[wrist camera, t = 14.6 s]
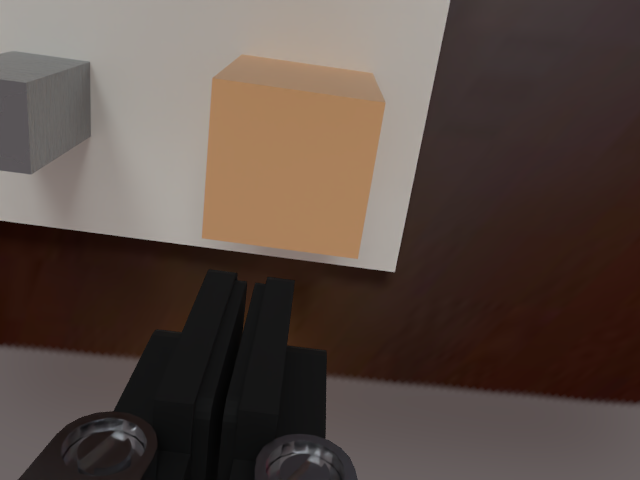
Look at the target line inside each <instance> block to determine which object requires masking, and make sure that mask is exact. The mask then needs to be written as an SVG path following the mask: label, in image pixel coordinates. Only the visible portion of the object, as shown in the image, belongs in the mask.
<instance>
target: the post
mask: <svg viewBox="0 0 640 480" xmlns="http://www.w3.org/2000/svg"><path fill="white" fill-rule="evenodd" d="M89 137H91V99H90V62H88V61H81V60H74V59H67V58H60V57H53V56H46V55H39V54H31V53H24V52H17V51H11V52H6V53H1V54H0V171H8V172H15V173H23V174H30V175H31V174H33V173H34V172H36V171H38V170H39V169H41V168H42V167H44V166H45V165H47V164H49V163H50V162H52V161H53V160H55V159H56V158H58V157H59V156H61V155H63V154H64V153H66V152H67V151H69V150H70V149H72V148H73V147H75V146H77V145H78V144H80V143H81V142H83V141H84V140H86V139H88V138H89Z"/></svg>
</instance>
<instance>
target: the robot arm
mask: <svg viewBox="0 0 640 480" xmlns="http://www.w3.org/2000/svg"><path fill="white" fill-rule="evenodd" d="M294 283H295V280H288V279H280V278H272V277H267V281H266V284H262V283H255V286H254V290H253V294H252V298H251V302H250V306H249V310H248V314H247V318H246V322H245V326H244V330H243V322H244V312H245V301H246V291H247V282H246V281H238V280H237V273H233V272H225V271H218V270H210V269H209V270H208V272H207V274H206V277H205V279H204V281H203V284H202V286H201V288H200V291H199V293H198V295H197V298H196V300H195V303H194V305H193V307H192V310H191V312H190V314H189V317H188V319H187V321H186V324H185V326H184V329H183V331H182V332H174V331H166V330H158V329H157V330H155V331H154V333H153V334H152V336H151V338H150V340H149V342H148V344H147V346H146V348H145V350H144V352H143V354H142V356H141V358H140V360H139V362H138V364H137V366H136V368H135V370H134V372H133V374H132V376H131V378H130V380H129V382H128V384H127V386H126V388H125V390H124V392H123V393H122V396H121V397H120V399H119V402H118V404H117V406H116V407H115V410H114V411H112V412H101V413H95V414H91V415H88V416H84V417H81V418H79V419H77V420H75V421H73V422H72V423H70V424H68V425H66V426H65V427H64V428H63V429H62V430H61V431H60V432H59V433H57V434H56V436H55V437H54V438H53V439H52V440H51V442H50V443H49V444H48V445H47V446H46V447H45V449H44V450H43V451H42V452H41V453H40V455H39V456H38V457H37V458H36V459H35V460H34V462H33V463H32V464H31V465H30V466H29V468H28V469H27V470H26V471H25V472H24V474H23V475H22V476H21V477H20V478H19V479H18V480H357V476H356V471H355V468H354V466H353V464H352V461H351V459H350V457H349V456H348V455H347V454H346V453H345V452H344V451H343V450H342V449H341V448H340V447H338V446H337V445H335V444H334V443H332V442H331V441H329V440H326V439H325V432H326V431H325V430H326V364H327V353H326V350H319V349H311V348H303V347H295V346H287V340H288V332H289V324H290V316H291V308H292V300H293V292H294ZM242 332H243V334H242Z"/></svg>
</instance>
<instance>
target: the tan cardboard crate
mask: <svg viewBox="0 0 640 480" xmlns="http://www.w3.org/2000/svg"><path fill="white" fill-rule="evenodd" d="M385 104H386V102H385V100H384V98H383V95H382V93H381V91H380V89H379V86H378V84H377V82H376V79H375V77H374V75H373V73H368V72H361V71H354V70H347V69H340V68H333V67H326V66H320V65H313V64H306V63H299V62H292V61H285V60H278V59H271V58H264V57H257V56H250V55H243V54H242V55H240V56H239V57H238V58H237V59H235V60H234V61H233V62H232V63H230V64H229V65H228V66H227V67H225V68H224V69H223V70H222V71H220V72H219V73H218V74H217V75H215V76H214V77H213V78H212V90H211V105H210V120H209V135H208V150H207V166H206V181H205V196H204V211H203V226H202V238H203V239H211V240H218V241H226V242H233V243H241V244H248V245H256V246H263V247H271V248H278V249H286V250H293V251H301V252H308V253H316V254H323V255H331V256H339V257H346V258H354V259H358V255H359V250H360V244H361V239H362V233H363V227H364V222H365V216H366V210H367V205H368V199H369V194H370V188H371V182H372V177H373V171H374V165H375V160H376V154H377V149H378V143H379V137H380V132H381V126H382V120H383V115H384V109H385Z"/></svg>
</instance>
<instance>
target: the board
mask: <svg viewBox="0 0 640 480" xmlns="http://www.w3.org/2000/svg"><path fill="white" fill-rule="evenodd" d="M449 4H450V0H0V54H1V53H6V52H11V51H17V52H24V53H31V54H39V55H46V56H53V57H60V58H67V59H74V60H81V61H88V62H90V99H91V137H89V138H88V139H86V140H84V141H83V142H81V143H80V144H78V145H77V146H75V147H73V148H72V149H70V150H69V151H67V152H66V153H64V154H63V155H61V156H59V157H58V158H56V159H55V160H53V161H52V162H50V163H49V164H47V165H45V166H44V167H42V168H41V169H39V170H38V171H36V172H34V173H33V174H31V175H30V174H23V173H15V172H8V171H0V221H8V222H15V223H23V224H31V225H38V226H46V227H54V228H61V229H69V230H76V231H84V232H92V233H99V234H107V235H115V236H122V237H130V238H137V239H145V240H153V241H160V242H168V243H176V244H183V245H191V246H198V247H206V248H214V249H221V250H229V251H237V252H244V253H252V254H259V255H267V256H275V257H282V258H290V259H298V260H305V261H313V262H320V263H328V264H336V265H343V266H351V267H359V268H366V269H374V270H381V271H389V272H395V268H396V264H397V259H398V254H399V249H400V244H401V239H402V234H403V229H404V224H405V220H406V215H407V210H408V205H409V200H410V195H411V190H412V185H413V180H414V176H415V171H416V166H417V161H418V156H419V151H420V146H421V141H422V136H423V131H424V127H425V122H426V117H427V112H428V107H429V102H430V97H431V92H432V87H433V83H434V78H435V73H436V68H437V63H438V58H439V53H440V48H441V43H442V39H443V34H444V29H445V24H446V19H447V14H448V9H449ZM242 54H243V55H250V56H257V57H264V58H271V59H278V60H285V61H292V62H299V63H306V64H313V65H320V66H326V67H333V68H340V69H347V70H354V71H361V72H368V73H373V75H374V77H375V79H376V82H377V84H378V86H379V89H380V91H381V93H382V95H383V98H384V100H385V102H386V104H385V109H384V115H383V120H382V126H381V132H380V137H379V143H378V149H377V154H376V160H375V165H374V171H373V177H372V182H371V188H370V194H369V199H368V205H367V210H366V216H365V222H364V227H363V233H362V239H361V244H360V250H359V255H358V259H354V258H346V257H339V256H331V255H323V254H316V253H308V252H301V251H293V250H286V249H278V248H271V247H263V246H256V245H248V244H241V243H233V242H226V241H218V240H211V239H203V238H202V226H203V211H204V196H205V181H206V166H207V150H208V135H209V120H210V105H211V90H212V78H213V77H214V76H215V75H217V74H218V73H219V72H220V71H222V70H223V69H224V68H225V67H227V66H228V65H229V64H230V63H232V62H233V61H234V60H235V59H237V58H238V57H239V56H240V55H242Z"/></svg>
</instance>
